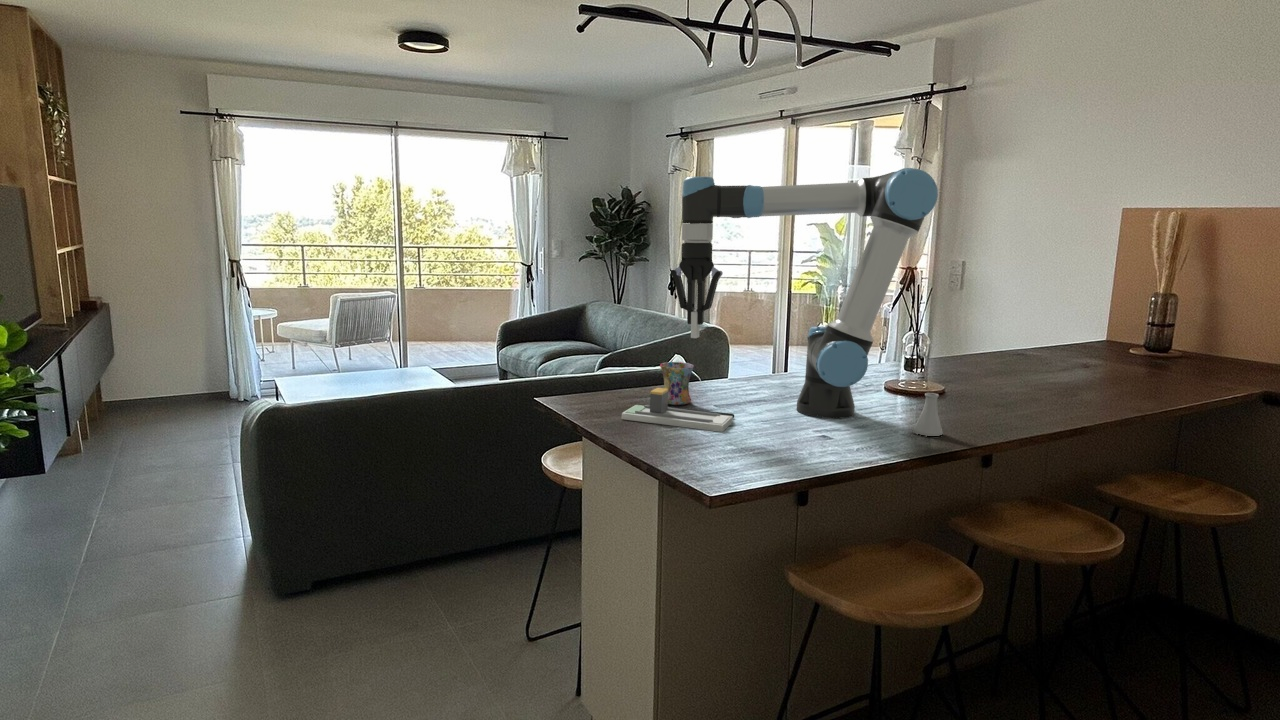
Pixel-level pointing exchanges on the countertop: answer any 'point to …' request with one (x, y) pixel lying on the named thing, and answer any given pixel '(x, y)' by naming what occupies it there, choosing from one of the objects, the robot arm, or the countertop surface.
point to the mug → (677, 381)
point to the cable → (711, 412)
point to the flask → (929, 418)
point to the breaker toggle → (659, 400)
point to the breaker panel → (679, 418)
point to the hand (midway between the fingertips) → (695, 337)
